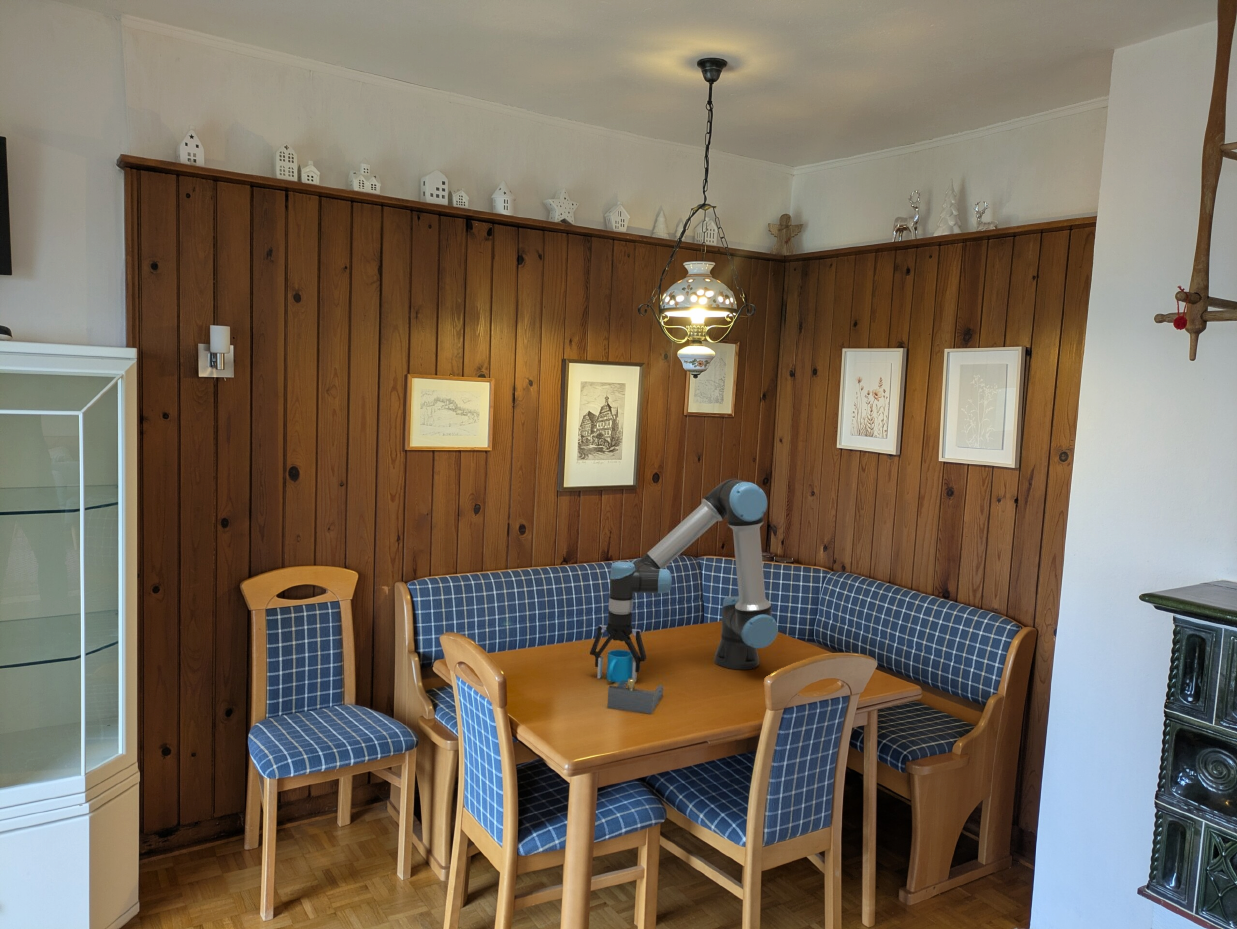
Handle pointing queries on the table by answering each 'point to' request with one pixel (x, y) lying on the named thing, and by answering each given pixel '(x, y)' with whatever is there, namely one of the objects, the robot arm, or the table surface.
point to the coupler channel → (633, 697)
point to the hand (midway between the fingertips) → (616, 679)
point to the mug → (619, 665)
